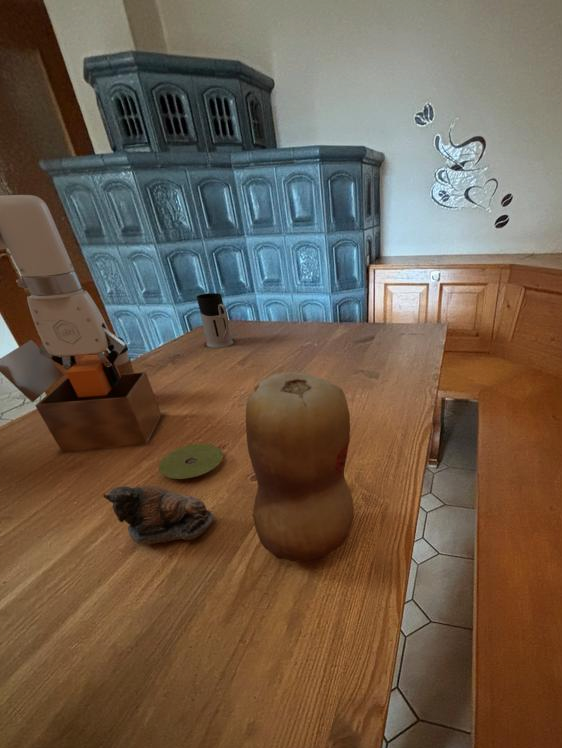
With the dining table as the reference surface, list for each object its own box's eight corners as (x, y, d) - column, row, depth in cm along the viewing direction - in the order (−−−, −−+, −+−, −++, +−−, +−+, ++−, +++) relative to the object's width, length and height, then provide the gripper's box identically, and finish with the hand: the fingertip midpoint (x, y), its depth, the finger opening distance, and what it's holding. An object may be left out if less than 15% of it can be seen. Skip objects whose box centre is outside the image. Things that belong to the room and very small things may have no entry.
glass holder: (226, 338, 135) (215, 291, 125) (246, 347, 126) (236, 298, 117) (202, 343, 130) (189, 295, 121) (221, 354, 122) (209, 303, 112)
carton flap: (33, 401, 70) (32, 402, 70) (64, 374, 80) (62, 375, 80) (-7, 363, 65) (-9, 364, 65) (31, 339, 75) (29, 340, 75)
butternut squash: (343, 587, 50) (333, 416, 35) (247, 573, 52) (197, 406, 37) (361, 515, 61) (360, 361, 46) (281, 506, 63) (254, 356, 48)
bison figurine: (215, 512, 62) (198, 461, 56) (216, 543, 57) (197, 490, 50) (134, 529, 59) (107, 477, 53) (127, 563, 54) (96, 510, 48)
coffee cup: (102, 403, 94) (74, 342, 85) (135, 391, 100) (111, 332, 91) (120, 412, 90) (93, 348, 81) (153, 399, 96) (131, 338, 87)
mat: (227, 449, 77) (225, 440, 76) (221, 482, 68) (219, 474, 67) (169, 455, 76) (166, 446, 74) (155, 490, 67) (151, 481, 66)
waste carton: (62, 453, 77) (34, 405, 70) (87, 422, 87) (65, 377, 80) (147, 445, 79) (127, 397, 72) (161, 415, 89) (145, 372, 82)
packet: (78, 397, 73) (65, 372, 70) (95, 378, 80) (84, 355, 77) (106, 395, 73) (94, 369, 70) (121, 376, 80) (111, 353, 77)
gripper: (-14, 292, 61) (45, 397, 72) (99, 286, 63) (140, 389, 74) (11, 283, 67) (62, 381, 78) (114, 278, 69) (150, 374, 80)
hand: (100, 384), depth 76 cm, fingers closed on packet, 5 cm apart
